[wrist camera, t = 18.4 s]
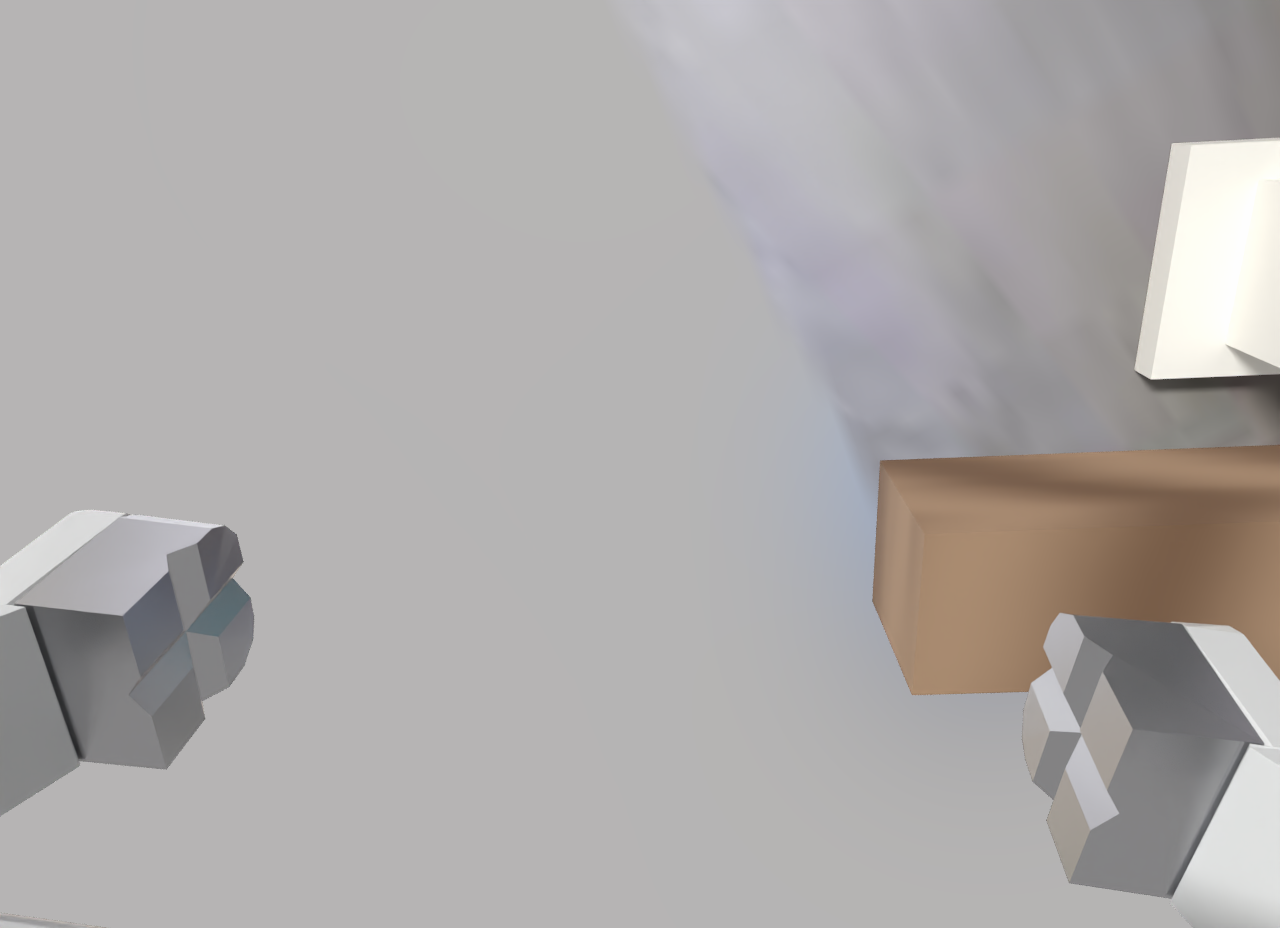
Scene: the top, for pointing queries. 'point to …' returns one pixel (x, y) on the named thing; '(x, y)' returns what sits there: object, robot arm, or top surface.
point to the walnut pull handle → (1069, 554)
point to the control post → (1215, 264)
